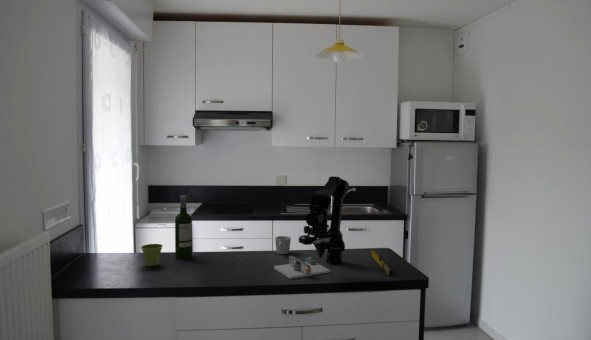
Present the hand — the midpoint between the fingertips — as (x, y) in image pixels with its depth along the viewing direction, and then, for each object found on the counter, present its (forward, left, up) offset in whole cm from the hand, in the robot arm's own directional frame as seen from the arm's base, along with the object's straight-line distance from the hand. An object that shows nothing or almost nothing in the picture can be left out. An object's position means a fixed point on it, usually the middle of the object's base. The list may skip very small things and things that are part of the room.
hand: (320, 257), depth 183 cm
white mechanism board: (+5, -8, -7) cm, 12 cm away
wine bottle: (+47, -52, -8) cm, 70 cm away
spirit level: (-33, 0, -8) cm, 34 cm away
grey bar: (+7, -6, -6) cm, 11 cm away
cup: (+1, -36, -8) cm, 37 cm away
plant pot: (+63, -45, -8) cm, 77 cm away
